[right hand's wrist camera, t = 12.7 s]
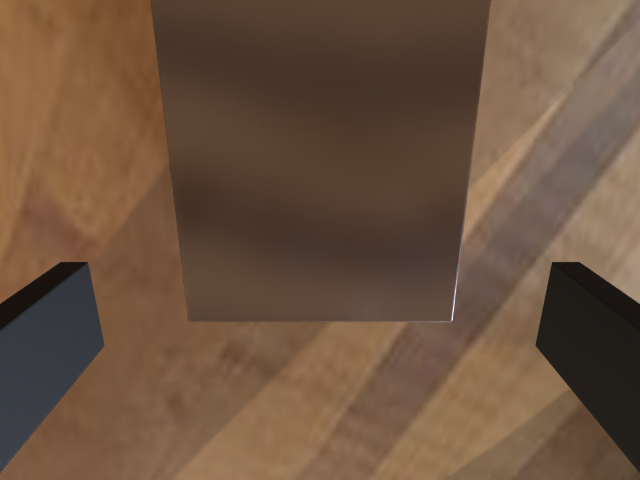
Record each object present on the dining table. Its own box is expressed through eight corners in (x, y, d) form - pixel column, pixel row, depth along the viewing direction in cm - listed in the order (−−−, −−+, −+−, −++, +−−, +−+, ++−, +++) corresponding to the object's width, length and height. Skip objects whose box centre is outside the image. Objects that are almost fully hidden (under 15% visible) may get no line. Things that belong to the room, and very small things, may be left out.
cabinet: (199, -160, 20) (109, -340, 12) (442, -160, 20) (532, -340, 12) (229, 246, 27) (187, 322, 18) (410, 246, 27) (452, 322, 18)
